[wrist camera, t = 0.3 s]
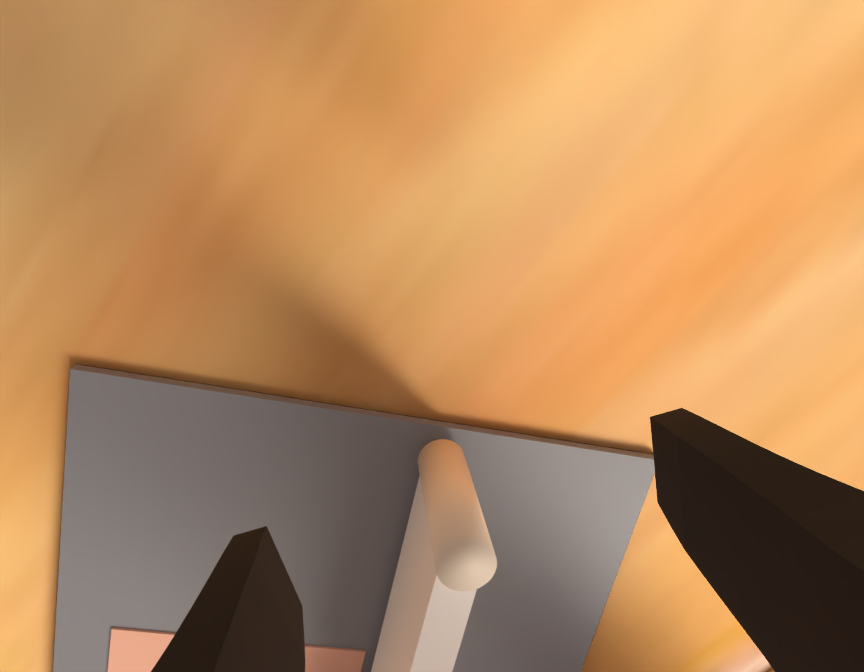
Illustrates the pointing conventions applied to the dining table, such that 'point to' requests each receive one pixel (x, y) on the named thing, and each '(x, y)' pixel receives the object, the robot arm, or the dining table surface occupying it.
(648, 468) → the card
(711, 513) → the robot arm
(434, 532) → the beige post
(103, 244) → the dining table surface
